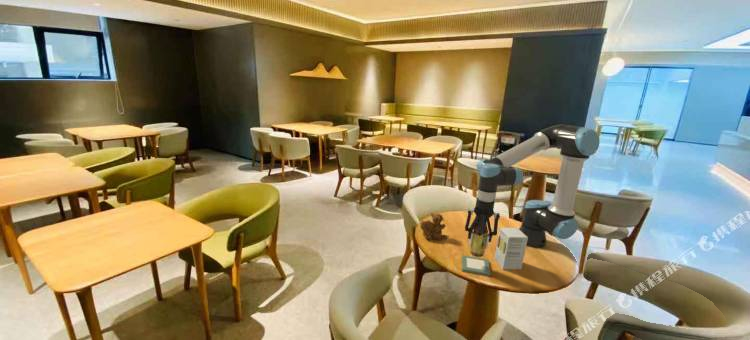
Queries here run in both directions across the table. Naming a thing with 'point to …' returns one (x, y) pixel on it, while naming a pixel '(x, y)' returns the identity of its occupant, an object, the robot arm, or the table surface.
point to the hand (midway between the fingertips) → (478, 246)
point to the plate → (475, 265)
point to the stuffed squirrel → (433, 228)
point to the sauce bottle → (479, 237)
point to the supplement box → (510, 248)
